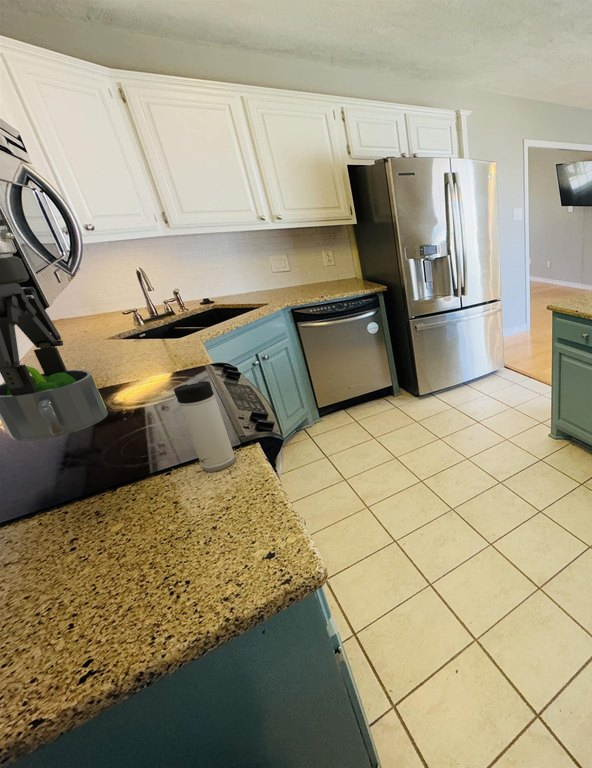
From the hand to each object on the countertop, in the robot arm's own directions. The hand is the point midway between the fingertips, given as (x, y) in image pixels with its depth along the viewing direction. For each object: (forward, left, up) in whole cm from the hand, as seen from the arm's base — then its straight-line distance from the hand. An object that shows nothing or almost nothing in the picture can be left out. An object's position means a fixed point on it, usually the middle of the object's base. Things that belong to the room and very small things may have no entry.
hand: (46, 392), depth 70 cm
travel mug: (+18, +7, -24) cm, 31 cm away
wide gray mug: (+1, -2, -6) cm, 6 cm away
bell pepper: (0, 0, -6) cm, 6 cm away
